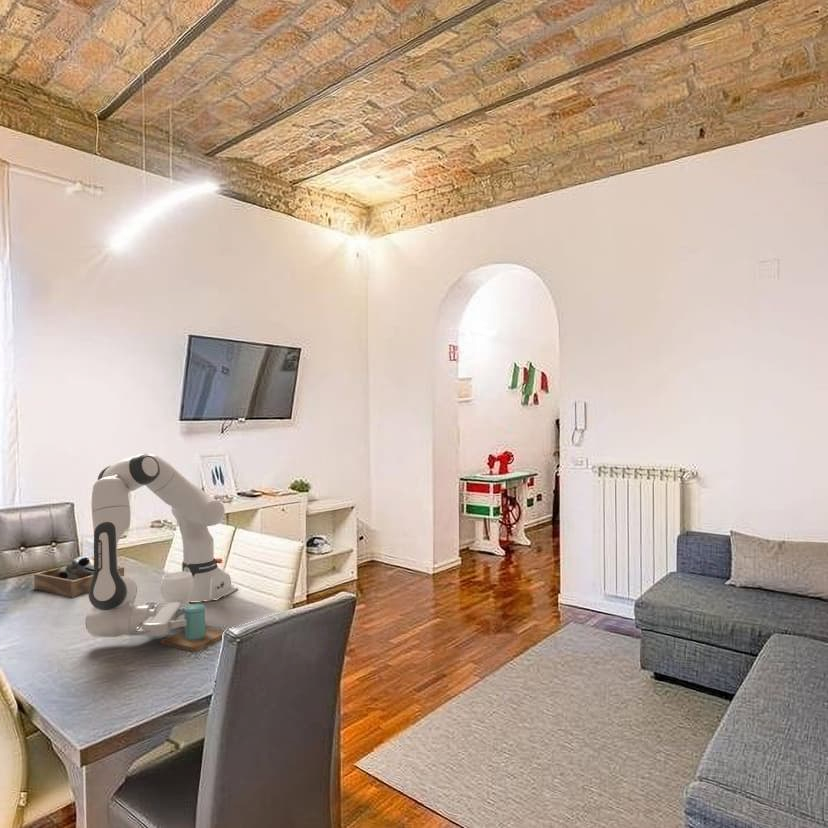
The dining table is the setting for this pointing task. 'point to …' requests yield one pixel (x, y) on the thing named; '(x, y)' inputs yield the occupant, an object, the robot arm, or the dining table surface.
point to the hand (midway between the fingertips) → (190, 616)
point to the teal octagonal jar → (195, 621)
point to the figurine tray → (64, 583)
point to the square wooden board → (195, 644)
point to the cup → (177, 588)
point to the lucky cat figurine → (77, 569)
